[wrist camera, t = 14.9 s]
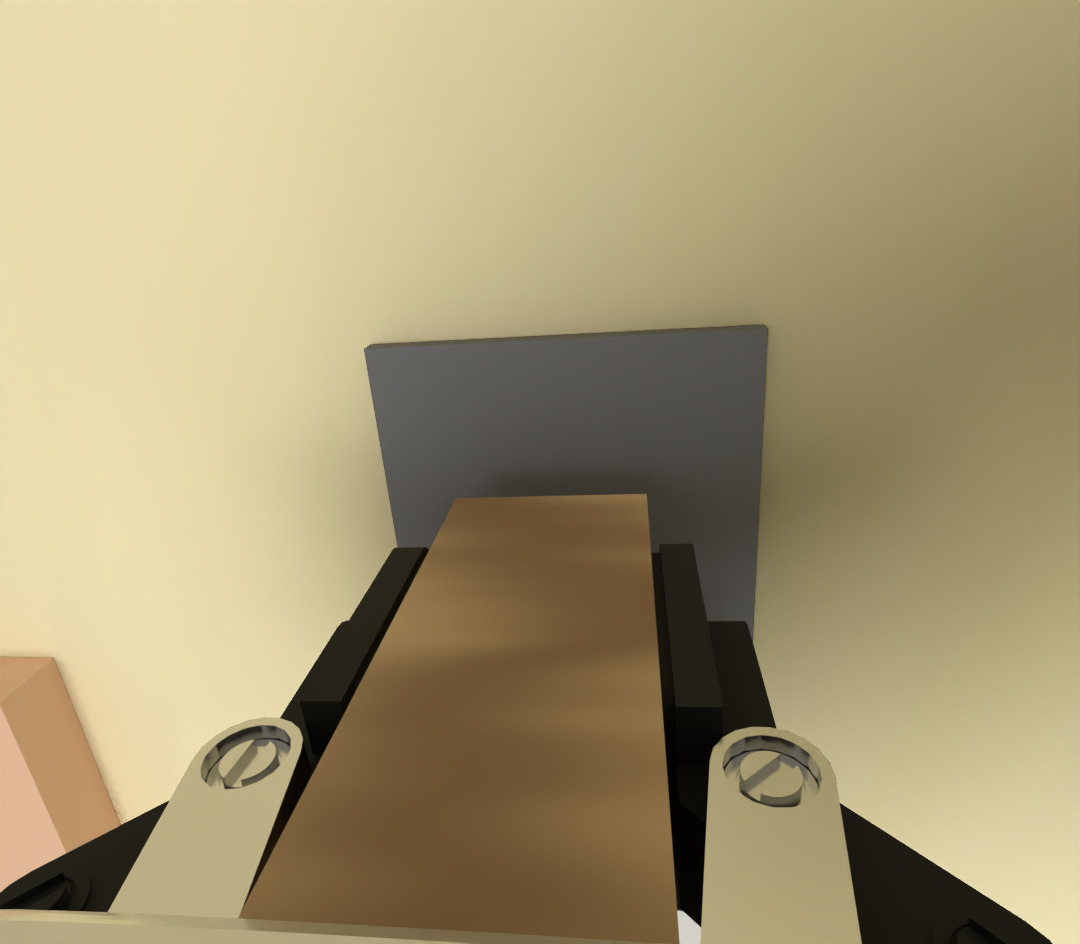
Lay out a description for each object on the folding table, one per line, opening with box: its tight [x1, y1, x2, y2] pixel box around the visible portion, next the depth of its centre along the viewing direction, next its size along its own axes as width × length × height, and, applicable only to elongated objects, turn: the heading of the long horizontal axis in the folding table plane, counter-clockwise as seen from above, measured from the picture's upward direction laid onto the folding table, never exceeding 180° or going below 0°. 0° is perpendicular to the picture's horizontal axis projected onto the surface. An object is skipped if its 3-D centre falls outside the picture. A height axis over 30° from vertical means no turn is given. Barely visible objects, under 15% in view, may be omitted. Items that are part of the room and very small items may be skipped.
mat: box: [364, 325, 768, 642], centre depth 17 cm, size 8×16×1 cm, turn 4°
